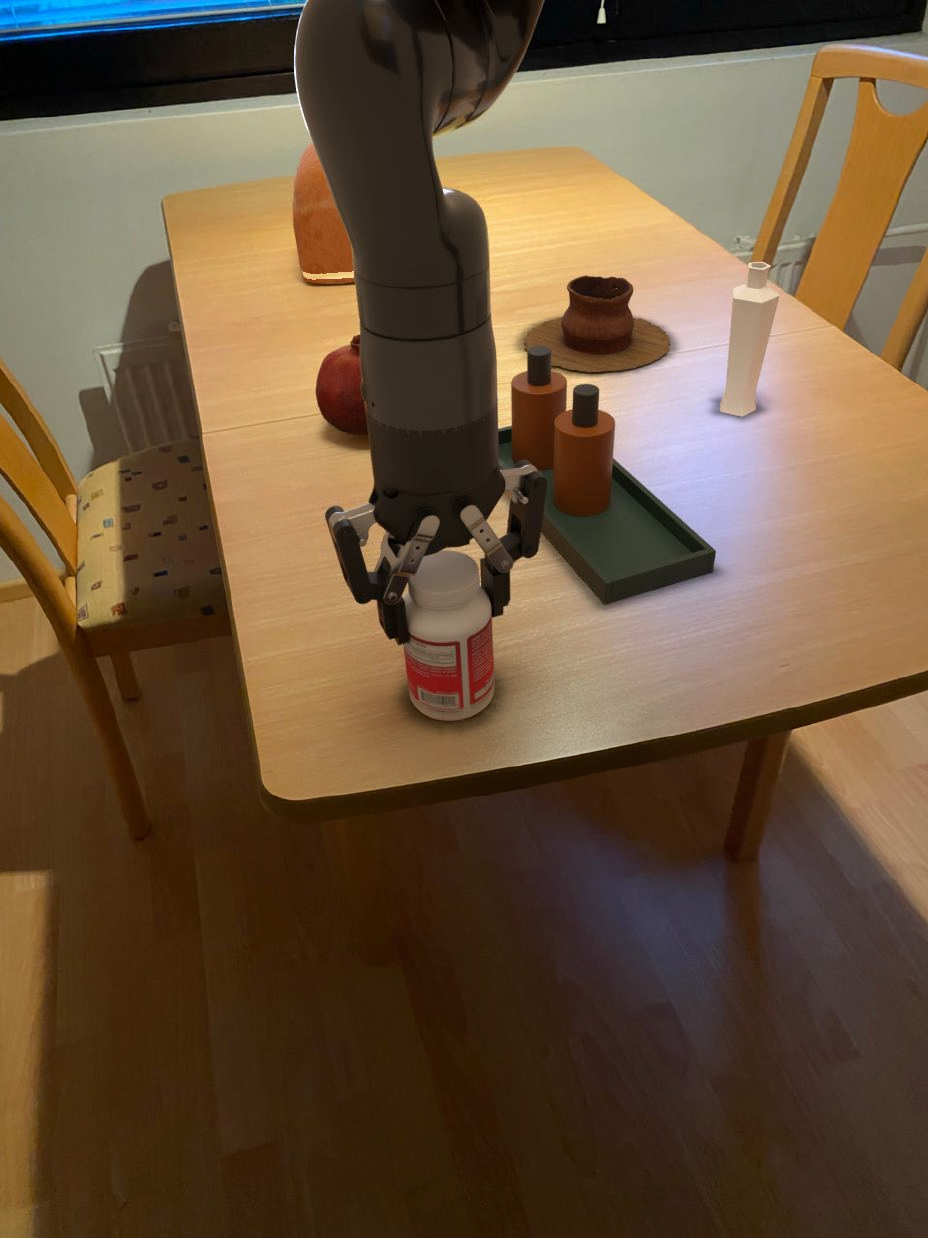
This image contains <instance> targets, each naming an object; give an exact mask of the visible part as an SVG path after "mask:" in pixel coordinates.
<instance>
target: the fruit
mask: <svg viewBox="0 0 928 1238" xmlns="http://www.w3.org/2000/svg"><path fill="white" fill-rule="evenodd" d="M360 383H361V370H360V333H359V334H357V335H353V337H352V339H351V340H350V342H349V344H347V345H344V346H341V347H339V348H337V349H334V350H332V351H330V352H329V353H327V355H326V356H325V357H324V358H323V360H322V362H321V364H320V367H319V369H318V373H317V377H316V383H315V397H316V403H317V406H318V410H319V412H320V414H321V416H322V417H323V419H324V420H325V421H326V422H327V423H328V424H329V425H330V426H331V427H333V428H334V429H335V430H338V431H339V432H341V433H345V434H348V435H353V436H363V437H364V436H365V437H368V429H367V420H366V411H365V403H364V400H363V398H362V395H361V387H360Z"/></svg>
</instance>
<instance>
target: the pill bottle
mask: <svg viewBox="0 0 928 1238" xmlns="http://www.w3.org/2000/svg"><path fill="white" fill-rule="evenodd" d="M402 597H403V599H404V601H405V607H406V617H407V627H408V636H409V642H408V643H405V644H402V646H403V654H404V662H405V669H406V670H405V671H406V678H407V685H408V692H409V697H410V701H411V702H412V704H413V706H414V707H415V708H416V709H417V710H418V711H419V712H420V713H422V714H423V715H425V716H426V717H429V718H431V719H434V720H438V721H446V722H447V721H448V722H449V721H450V722H455V721H461V720H464V719H467V718H471V717H473V716H475V715H478V714H479V713H480V712H482V711H483V710H485V708H487V706H488V705H489V704H490V702H491V701H492V700H493V697H494V694H495V684H496V683H495V681H496V680H495V661H494V660H495V659H494V640H493V639H494V638H493V637H494V635H493V617H492V611H491V603H490V599H489V597H488V595H487V593H486V592H485V590H484V589H483V588H482V587H481V577H480V569H479V565H478V563H477V561H475V559H474V558H473V557H471V556H470V555H468V554H467V553H465V552H460V551H458V550H450V549H449V550H448V549H446V550H445V549H443V550H441V551H439V552H437V553H435V554H431V555H428V556H424V557H423V559H422V561H421V564H420V566H419V568H418V571H417V573H416V575H415V576H411V577H410V578H409V581H408V583H407V592H406V593H405V594H404V596H402Z"/></svg>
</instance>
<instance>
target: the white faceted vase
mask: <svg viewBox="0 0 928 1238" xmlns="http://www.w3.org/2000/svg"><path fill="white" fill-rule="evenodd" d="M747 267H748V273H747V281H746V283H743V284H742V285H741V284H740V285H739V286H736V287H734V288H733V292H732V303H731V314H730V315H731V317H730V328H729V339H728V340H729V341H728V353H727V364H726V376H725V377H726V379H725V389H724V393H723V395H722V398H721V401H720V404H719V412H720V413H722V414H727V415H732V416H736V417H740V418H741V417H742V418H743V417H746V416H747V415H749V414H751V413H753V412H754V411H756V410H757V406H756V405H757V404H756V403H757V402H756V392H757V388H758V383H759V379H760V376H761V372H762V368H763V365H764V364H763V363H764V360H765V357H766V352H767V348H768V344H769V340H770V336H771V332H772V328H773V325H774V320H775V316H776V312H777V309H778V304H779V301H780V296H781V294H779V293H778V292H777V291H775V290H774V289H772V288H770V287H769V286H767V283H768V276H769V270H770V269H771V267H772V265H771V264H769V263H766V262H764V261H753V262H752V261H751V262H748V265H747Z"/></svg>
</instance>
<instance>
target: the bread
mask: <svg viewBox="0 0 928 1238" xmlns="http://www.w3.org/2000/svg"><path fill="white" fill-rule="evenodd" d="M295 173H296V174H295V178H294V182H293V198H292V225H293V226H292V227H293V232H294V238H295V245H296V251H297V257H298V262H299V268H300V271H301V270H302V271H303V272H306V273H310V274H321V273H322V274H326V273H338V272H352V271H354V268H353V258H352V248H351V244H350V241H349V238H348V235H347V232H346V230H345V227H344V225H343V222H342V220H341V218H340V215H339V213H338V210H337V208H336V205H335V203H334V200H333V197H332V194H331V192H330V189H329V186H328V183H327V180H326V178H325V175H324V172H323V170H322V167H321V164H320V162H319V159H318V156H317V154H316V151H315V148H314V146H313V143H312V142H310V144H309V145H307V147H306V148H305V150H304V152H303V153H302V155H301V157H300V159H299V164H298V166H297V168H296V172H295ZM302 277H303V278H304V280H305V281H306V282H308V283H311V284H320V285H324V284H325V285H337V284H338V285H341V284H344V285H345V284H351V283H355V278H342V279H316V280H312V279H307V278H305V277H304V276H303V275H302Z"/></svg>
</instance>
